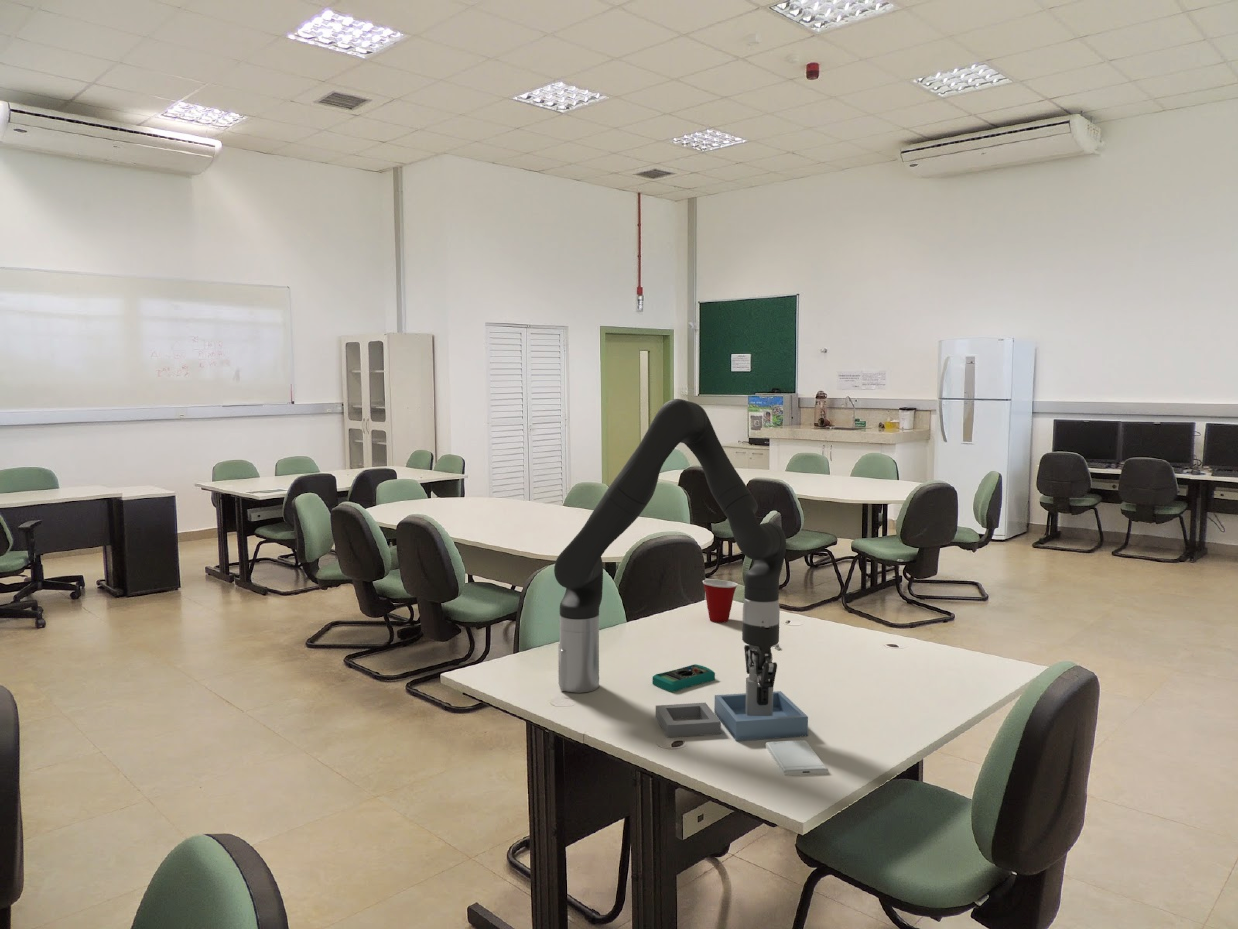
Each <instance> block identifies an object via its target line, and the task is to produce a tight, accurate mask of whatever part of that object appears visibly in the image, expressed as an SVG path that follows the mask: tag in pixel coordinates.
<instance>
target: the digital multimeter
mask: <svg viewBox="0 0 1238 929" xmlns="http://www.w3.org/2000/svg"><path fill="white" fill-rule="evenodd" d="M715 680H716V672H714V670H712V669H710V668H709V667H706V666H704V665H702V664H701V665H700V664H691V665H686V666H684V667H681V668H677V669H672V670H669V671H665V672H661V673H660V672H659V673H656V674H654V675H653V676H652V680H651V681H652V682H651V683H652V685H653V684H654V686H655V687H657V688H659V689H662V690H665V691H668V692H670V691H671V692H670V693H674V692H677V691H678V692H679V691H681V690H685V689H687V688H691V687H694V686H698V685H702V684H705V683H706V684H707V683H709V682H714V681H715Z"/></svg>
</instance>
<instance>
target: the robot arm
mask: <svg viewBox="0 0 1238 929" xmlns="http://www.w3.org/2000/svg"><path fill="white" fill-rule="evenodd" d="M680 444H684V445H685V446H686V447H687V448H688V449H689V450H690V451H691V453H692V454H693V455H694V456H695V457H696V459H697V461H698V463H699V464H700V466H701V468H702V470H703V473H704V477H705V479H706V483H707V486H708V488H709V490H710V493H711V495H712V497H713V498H714V499H715V502H716V503H717V504H718V506H719V508H720V510H722V512H723V515H725V517H726V518H727V520H728V524H729V527H730V530H731V532H732V535H733V538H734V541H735V543H736V546H737V547H738V549H739V550H740V552H741V553H742V554H743V555H744V556H745V557H747V558H748V559H750V560H753V564H752V566H751V568H750V569H749V570H748V571H747V572H746V573H745V575H744V591H743V592H744V594H743V595H744V596H743V597H744V598H743V605H742V625H741V626H742V628H741V629H742V630H741V631H742V633H741V634H742V635H741V637H742V639H741V640H742V642H743V643H745V644H746V645H744V647H743V648H744V656H745V657H744V658H745V668H746V674H748V675H749V668H751V667H754V674H755V675H756V676H757V686H758V687H757V704H758V705H767V704H768V691H769V687H773V688H774V686H775V680H776V674H777V669H778V663H777V662H773V660H774V659H773V653H772V649H771V648H773V647H772V646H773V645H776V644H779V642H780V617H781V616H780V603H779V602H780V601H779V598H780V594H779V593H780V592H779V591H780V576H781V573H782V570H783V565H784V560H785V556H786V552H787V539H786V534H785V532H784V529H783V528H782V527H781V526H780V525H778V523H775V522H763V523H759V521H758V519H757V517H756V513H757V511H758V508H759V504H758V502H757V499H756V498H755V497H754V495H753V494H752V492H751V491H750V489H749V488H748V486H747V485H746V484H745V482H744V481H743V479H742V478H741V476H740V475H739V473H738V472H737V471H738V470H736V468H735V467H734V465H733V463H732V462H731V461H730V459H729V457H728V455H727V453H726V451H725V450H724V448H723V446H722V444H721V441H720V439H719V438H718V436H717V433H716V431H715V429H714V427H713V425H712V422H711V420H710V418H709V416H708V414H707V412H706V410H705V409H704V407H702V406H701V405H700V404H698V403H696V402H692V401H689V400H687V399H681V398H673V399H670V400H668V401H666V402H665V403H663V405H662V406H661V407H660V408H659V410H658V411H657V413H656V415H655V416H654V417H653V419H652V421H651V423H650V425H649V427H648V428H647V431H645V434H644V436H643V438H642V439H641V441H640V443H639V444H638V446H637V447H636V449H635V450H634V452H633V453H632V455H631V456H630V457H629V459H628V460H627V461H626V463H625V465H624V466H623V468H622V469H621V470H620V471H619V473H618V474H617V476H616V477H615V478H614V480H613V481H612V482H611V484H610V485H609V487H608V488H607V489H606V491H605V493H604V494H603V496H602V497H601V499H600V500H599V501H598V503H597V505H596V506H595V508H594V509H593V511H592V512H591V514H590V516H589V517H588V519H587V521H586V522H585V524H584V525H583V527H582V528H581V529H580V531H579V532H578V533H577V534H576V536H574V538H573V539H572V540H571V541H570V542H569V544H568V545H567V546H566V547H565V548H564V549H563V550H562V551H561V552H560V554H559V555H558V556H557V557H556V559H555V562H554V568H553V572H554V578H555V579H556V582H557V583H558V584H559V585H560V587H563V588H564V589H565V592H564V595H563V597H562V599H561V601H560V603H559V643H558V645H557V646H558V686H559V689H560V691H561V692H568V693H576V694H577V693H579V694H580V693H581V694H582V693H589V692H592V691H595V690H598V688H599V687H600V605H601V604H602V599H603V583H604V564H603V558H602V556H603V554H605V552H606V551H607V549H608V547H609V546H610V545H612V543H614V541H616V540H617V539H618V538H619V537H620V536H621V535H622V534H623V533H624V532H625V531H627V529H628V528H629V527H630V526H631V525H632V524H634V522H635V521H636V520H637V519H638V518H639V516H640V515H641V514H642V512H643V511H644V510H645V508H646V507H647V505H648V504H649V503H650V501H651V500H652V498H653V495H654V494H655V491H656V487H657V485H658V482H659V476H660V473H661V470H662V467H663V465H664V464H665V462H666V460H667V459H668V457H669V456H670V455H671V454H672V452H673V451H674V450H675V449H676V448H677V447H678V445H680ZM758 670H763V671H762V672H759V671H758ZM765 680H766V681H765Z"/></svg>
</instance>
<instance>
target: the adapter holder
mask: <svg viewBox="0 0 1238 929" xmlns="http://www.w3.org/2000/svg"><path fill="white" fill-rule="evenodd" d="M697 718H699V719H697ZM655 719H656V721H657V722H658V724H659V725H660V727H661V729H662V732H664V735H665V736H666V737H667V738H679V736H680V737H681V736H682V737H693V736H695V737H696V736H708V735H721V729H722V728H721V726H722V725H721V724H722V722H721V721H720V720H719V719H718V717H717V716H716V715H715V713H714V711H713V710H712V709H711V708H710V706H709V705H708V704H707V702H696V703H695V702H692V703H677V704H676V703H675V704H661V705H655ZM680 719H681V720H680ZM683 719H690V720H683ZM675 720H677V721H675ZM682 737H681V738H682Z"/></svg>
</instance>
